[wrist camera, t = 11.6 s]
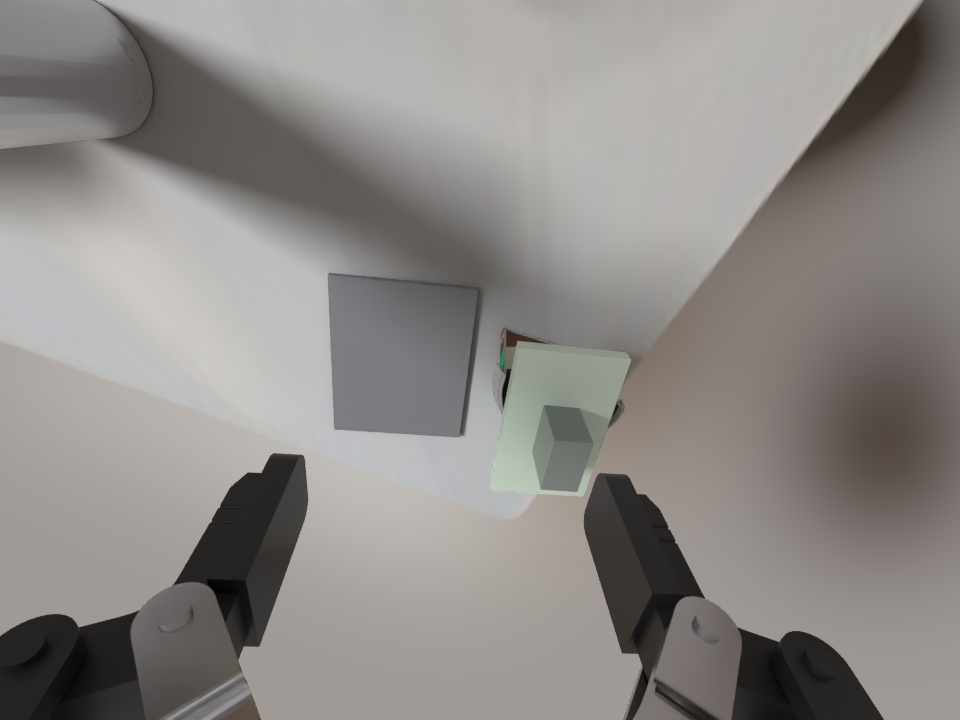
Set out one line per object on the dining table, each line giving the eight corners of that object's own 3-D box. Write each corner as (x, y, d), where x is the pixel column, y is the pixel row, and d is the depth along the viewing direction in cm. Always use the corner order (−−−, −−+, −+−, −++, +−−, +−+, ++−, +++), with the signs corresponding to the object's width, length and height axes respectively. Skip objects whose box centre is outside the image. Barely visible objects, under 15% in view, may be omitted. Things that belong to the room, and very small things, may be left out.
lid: (488, 481, 43) (493, 530, 38) (517, 340, 35) (527, 379, 30) (580, 487, 44) (596, 536, 39) (626, 352, 36) (653, 391, 31)
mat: (335, 426, 51) (334, 429, 50) (329, 273, 42) (327, 275, 41) (459, 434, 52) (459, 437, 52) (478, 287, 43) (478, 290, 43)
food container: (470, 372, 48) (473, 431, 40) (490, 323, 45) (498, 375, 37) (572, 401, 51) (597, 463, 42) (597, 356, 48) (629, 412, 39)
